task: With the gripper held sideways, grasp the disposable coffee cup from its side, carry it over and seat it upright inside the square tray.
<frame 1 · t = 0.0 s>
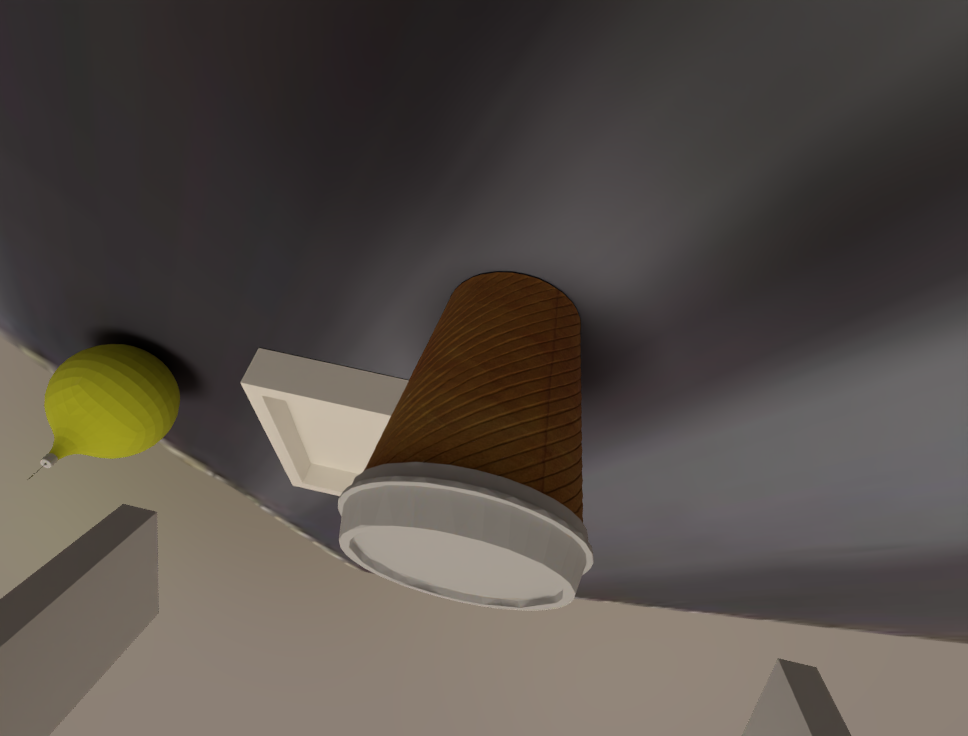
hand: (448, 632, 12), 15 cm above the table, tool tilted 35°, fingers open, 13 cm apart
disposable coffee cup: (514, 315, 28), on the table
ornament: (147, 353, 39), on the table
square tray: (389, 433, 40), on the table
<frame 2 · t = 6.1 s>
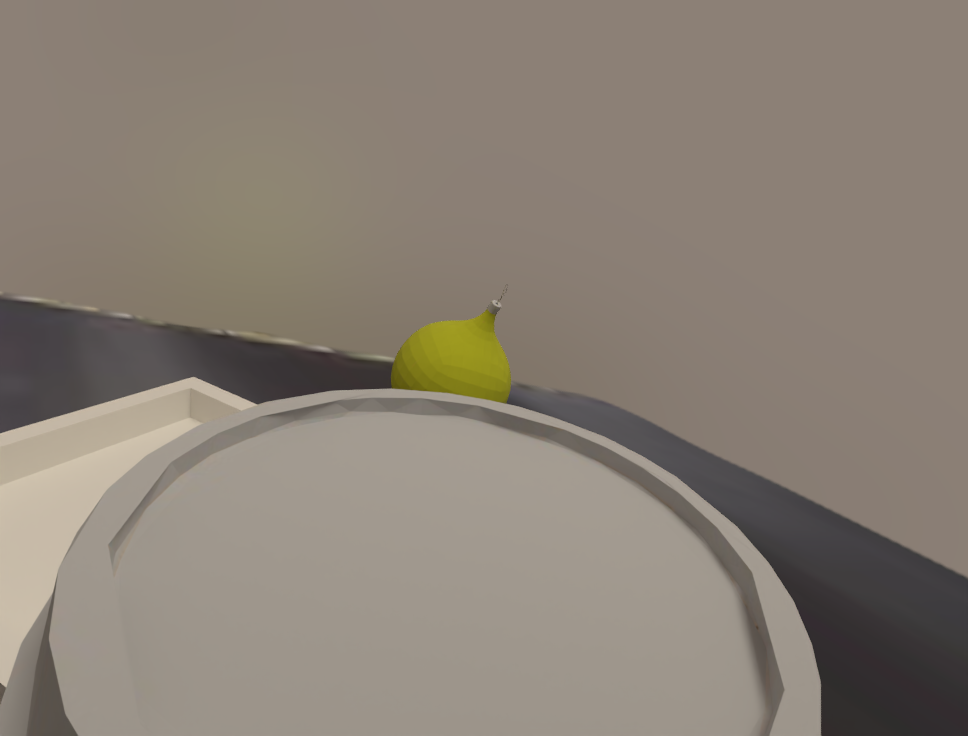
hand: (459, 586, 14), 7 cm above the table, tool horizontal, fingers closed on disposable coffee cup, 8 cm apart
ornament: (441, 435, 36), on the table
square tray: (163, 542, 23), on the table
when the fingers open (9 cm above the table, at t = 11.4 s): disposable coffee cup moves 4 cm, resting on square tray.
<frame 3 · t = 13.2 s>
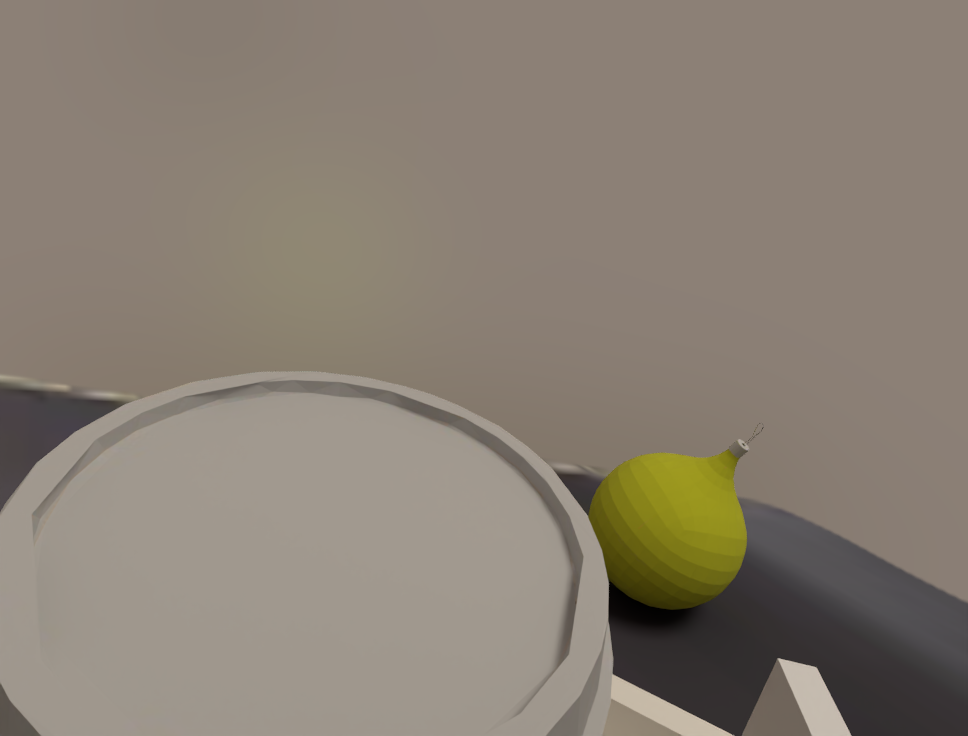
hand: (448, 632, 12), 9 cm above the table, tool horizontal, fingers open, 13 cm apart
ornament: (642, 591, 29), on the table
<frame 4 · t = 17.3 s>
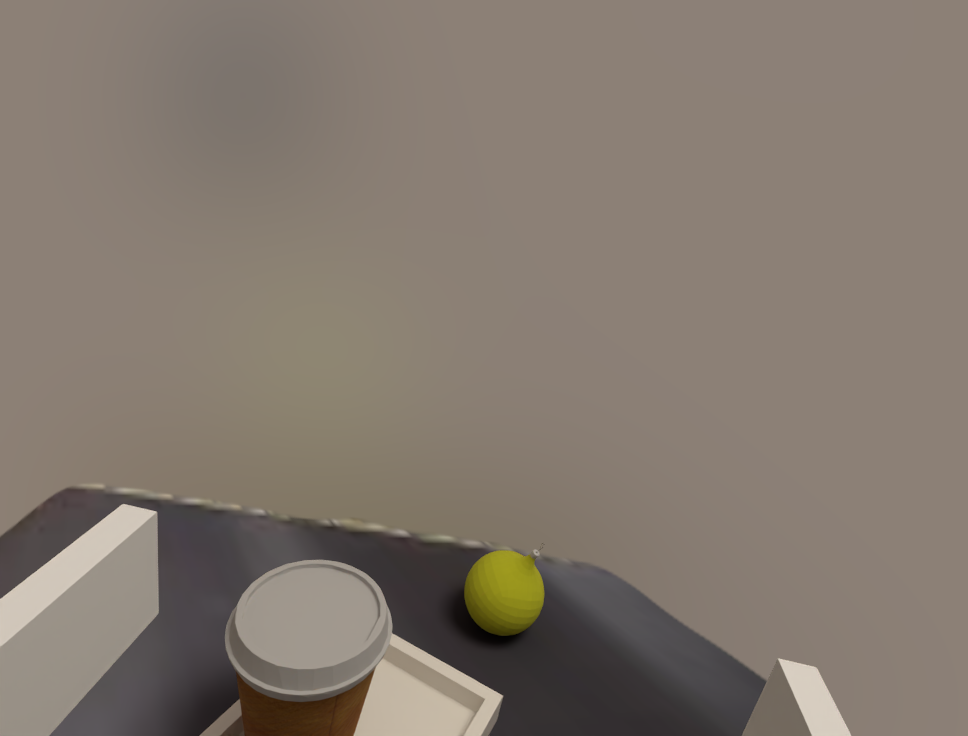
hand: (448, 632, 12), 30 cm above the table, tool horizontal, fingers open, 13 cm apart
ornament: (496, 624, 53), on the table
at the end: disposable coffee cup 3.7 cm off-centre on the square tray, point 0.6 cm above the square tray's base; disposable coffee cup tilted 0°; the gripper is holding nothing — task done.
